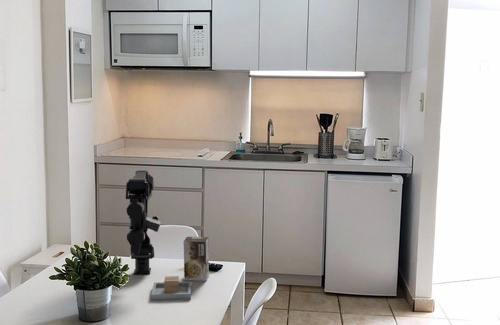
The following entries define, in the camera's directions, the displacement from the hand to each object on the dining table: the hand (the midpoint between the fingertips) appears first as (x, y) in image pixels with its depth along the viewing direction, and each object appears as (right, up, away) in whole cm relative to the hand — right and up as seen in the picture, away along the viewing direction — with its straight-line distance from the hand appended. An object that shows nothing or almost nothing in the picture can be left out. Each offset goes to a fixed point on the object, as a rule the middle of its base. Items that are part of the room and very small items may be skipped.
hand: (138, 251), depth 215 cm
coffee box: (+21, -12, +10) cm, 26 cm away
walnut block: (+14, -14, -7) cm, 20 cm away
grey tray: (+14, -14, -7) cm, 21 cm away
